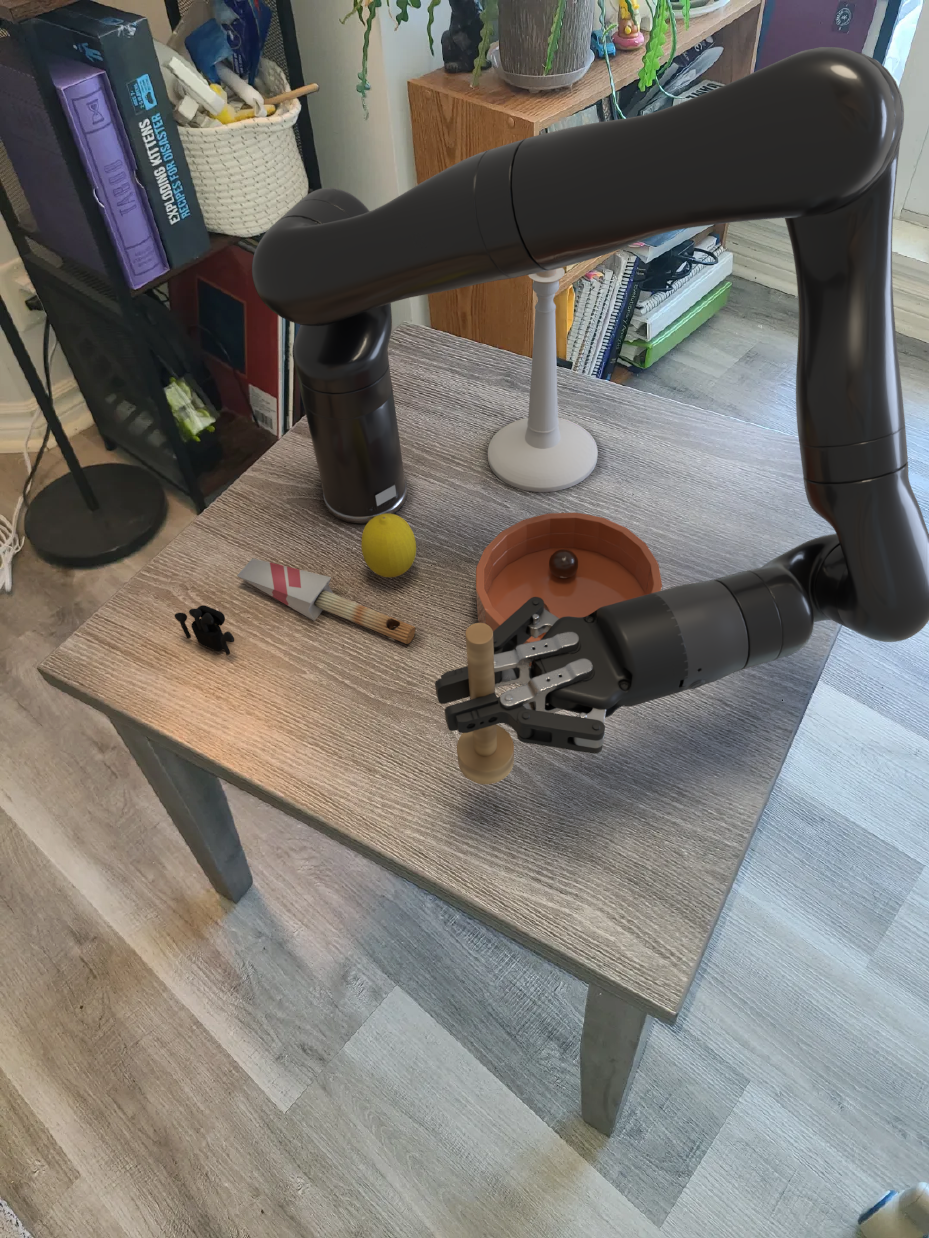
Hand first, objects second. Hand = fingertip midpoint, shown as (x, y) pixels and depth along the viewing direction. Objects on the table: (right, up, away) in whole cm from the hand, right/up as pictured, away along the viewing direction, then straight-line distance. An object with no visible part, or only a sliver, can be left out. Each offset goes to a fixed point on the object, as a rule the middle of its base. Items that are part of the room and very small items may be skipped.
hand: (442, 706), depth 63 cm
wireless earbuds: (-23, +4, +26) cm, 35 cm away
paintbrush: (-12, +7, +28) cm, 32 cm away
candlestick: (+11, +25, +42) cm, 50 cm away
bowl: (+12, +7, +27) cm, 30 cm away
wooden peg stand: (+3, -5, +7) cm, 9 cm away
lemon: (-6, +11, +31) cm, 34 cm away
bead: (+12, +12, +28) cm, 32 cm away
